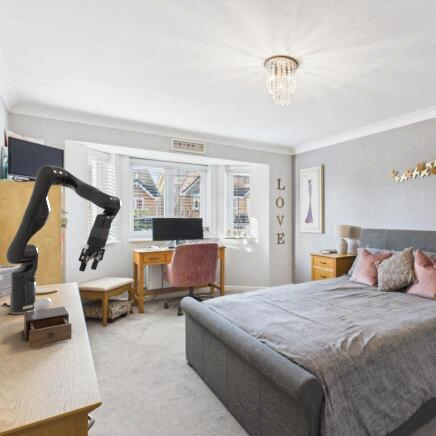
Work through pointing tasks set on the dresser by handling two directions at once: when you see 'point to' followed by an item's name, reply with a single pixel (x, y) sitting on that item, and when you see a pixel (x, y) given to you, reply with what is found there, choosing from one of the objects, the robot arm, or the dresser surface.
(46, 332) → the drawer
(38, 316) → the cabinet
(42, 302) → the lightbulb
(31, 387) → the dresser surface
